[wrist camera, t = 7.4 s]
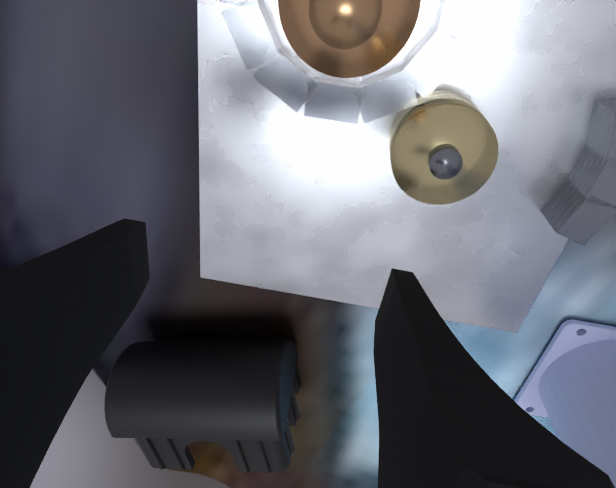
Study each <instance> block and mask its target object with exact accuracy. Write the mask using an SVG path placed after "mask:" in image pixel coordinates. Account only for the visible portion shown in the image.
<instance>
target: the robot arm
mask: <svg viewBox="0 0 616 488" xmlns="http://www.w3.org/2000/svg"><path fill="white" fill-rule="evenodd" d="M149 278H150V277H149V264H148V251H147V237H146V224H145V222H140V221H135V220H130V219H123V220H120V221H117V222H115V223H113V224H110V225H108V226H106V227H104V228H102V229H100V230H97V231H95V232H93V233H91V234H89V235H87V236H85V237H82V238H80V239H78V240H76V241H74V242H72V243H69V244H67V245H65V246H63V247H61V248H58V249H56V250H54V251H51V252H49V253H46V254H44V255H42V256H39V257H37V258H34V259H32V260H30V261H27V262H25V263H22V264H20V265H17V266H14V267H11V268H9V269H6V270H3V271H0V488H30V485H31V483H32V481H33V479H34V477H35V475H36V473H37V471H38V469H39V467H40V465H41V462H42V461H43V458H44V456H45V454H46V452H47V450H48V448H49V446H50V444H51V442H52V440H53V438H54V436H55V434H56V432H57V431H58V429H59V427H60V425H61V423H62V421H63V419H64V417H65V415H66V413H67V411H68V409H69V408H70V406H71V404H72V402H73V400H74V398H75V397H76V395H77V393H78V391H79V389H80V388H81V386H82V384H83V382H84V380H85V379H86V377H87V376H88V374H89V373H90V371H91V370H92V368H93V367H94V365H95V364H96V362H97V361H98V359H99V358H100V357H101V355H102V354H103V352H104V351H105V349H106V348H107V347H108V345H109V344H110V342H111V341H112V340H113V338H114V337H115V335H116V334H117V332H118V331H119V330H120V328H121V327H122V325H123V324H124V322H125V321H126V320H127V318H128V317H129V315H130V314H131V312H132V311H133V309H134V308H135V306H136V304H137V302H138V301H139V299H140V297H141V295H142V293H143V291H144V289H145V287H146V285H147V282H148V280H149ZM579 329H582V330H579ZM578 330H579V331H578ZM374 364H375V378H376V391H377V404H378V417H379V470H378V488H616V327H613V326H607V325H601V324H596V323H590V322H584V321H578V320H567V321H565V322H563V323H562V324H561V326H560V327H559V329H558V330H557V332H556V334H555V335H554V337H553V339H552V340H551V342H550V343H549V345H548V347H547V348H546V350H545V351H544V353H543V355H542V356H541V358H540V359H539V361H538V363H537V364H536V366H535V367H534V369H533V371H532V372H531V374H530V376H529V377H528V379H527V380H526V382H525V384H524V385H523V387H522V388H521V390H520V392H519V393H518V395H517V396H516V398H515V400H513V399H511V398H510V397H509V396H508V395H507V394H506V393H505V392H504V391H503V390H502V389H501V388H500V387H499V386H498V385H497V384H496V383H495V382H494V381H493V380H492V379H491V378H490V377H489V376H488V375H487V374H486V373H485V371H484V370H483V369H482V368H481V367H480V366H479V365H478V364H477V363H476V362H475V360H474V359H473V358H472V357H471V356H470V355H469V353H468V352H467V351H466V350H465V349H464V347H463V346H462V345H461V343H460V342H459V341H458V340H457V338H456V337H455V336H454V334H453V333H452V332H451V330H450V329H449V328H448V326H447V325H446V323H445V322H444V320H443V319H442V317H441V316H440V314H439V313H438V311H437V310H436V308H435V307H434V305H433V304H432V302H431V301H430V299H429V297H428V296H427V294H426V292H425V291H424V289H423V288H422V286H421V284H420V283H419V281H418V279H417V278H416V276H415V275H414V273H413V272H409V271H404V270H398V269H393V268H392V269H391V272H390V276H389V279H388V282H387V285H386V288H385V292H384V295H383V298H382V301H381V304H380V308H379V311H378V314H377V317H376V320H375V335H374ZM529 414H530V415H536V416H541V417H547V418H549V419H550V422H551V424H552V426H553V429H554V431H555V434H556V436H557V437H556V436H554V435H553V434H552V433H551V432H550V431H548V430H547V429H546V428H545V427H543V426H542V425H541V424H540V423H538V422H537V421H536V420H535V419H534V418H533V417H531V416H530V415H529Z"/></svg>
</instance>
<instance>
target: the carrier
mask: <svg viewBox="0 0 616 488" xmlns="http://www.w3.org/2000/svg"><path fill="white" fill-rule="evenodd" d="M197 6H198V95H199V184H200V273H201V277H202V278H207V279H213V280H219V281H224V282H230V283H236V284H242V285H247V286H253V287H259V288H264V289H270V290H276V291H282V292H287V293H293V294H299V295H304V296H310V297H316V298H322V299H327V300H333V301H339V302H344V303H350V304H356V305H362V306H367V307H373V308H380V304H381V301H382V298H383V295H384V292H385V288H386V285H387V282H388V279H389V276H390V272H391V269H392V268H393V269H398V270H404V271H409V272H413V273H414V275H415V276H416V278H417V279H418V281H419V283H420V284H421V286H422V288H423V289H424V291H425V292H426V294H427V296H428V297H429V299H430V301H431V302H432V304H433V305H434V307H435V308H436V310H437V311H438V313H439V314H440V316H441V317H442V319H443V320H447V321H453V322H459V323H464V324H470V325H476V326H482V327H487V328H493V329H499V330H504V331H510V332H516V333H517V332H518V330H519V329H520V327H521V325H522V323H523V321H524V319H525V318H526V316H527V314H528V312H529V310H530V309H531V307H532V305H533V303H534V301H535V300H536V298H537V296H538V294H539V292H540V290H541V289H542V287H543V285H544V283H545V281H546V280H547V278H548V276H549V274H550V272H551V271H552V269H553V267H554V265H555V263H556V261H557V260H558V258H559V256H560V254H561V252H562V251H563V249H564V247H565V245H566V243H567V242H568V240H569V239H570V240H573V241H575V242H577V243H579V244H582V245H585V244H586V243H587V242H588V241H589V240H590V239H591V238H592V237H593V236H594V235H595V234H596V233H597V231H598V230H599V229H600V228H601V227H602V226H603V225H604V224H605V223H606V222H607V221H608V220H609V219H610V218H611V217H612V216H613V215H614V214H615V213H616V0H421V5H420V11H419V16H418V19H417V22H416V25H415V28H414V30H413V32H412V34H411V37H410V38H409V40H408V42H407V43H406V45H405V46H404V48H403V49H402V50H401V51H400V53H399V54H398V55H397V56H396V57H395V58H394V59H393V60H392V61H390V62H389V63H388V64H386V65H385V66H384V67H382V68H380V69H379V70H377V71H375V72H373V73H370V74H368V75H364V76H361V77H355V78H338V77H332V76H329V75H325V74H323V73H321V72H318V71H317V70H315V69H313V68H312V67H310V66H309V65H308V64H306V63H305V62H304V61H303V60H302V59H301V58H300V57H299V56H298V55H297V54H296V52H295V51H294V50H293V48H292V47H291V45H290V44H289V42H288V40H287V38H286V36H285V33H284V31H283V28H282V25H281V21H280V16H279V10H278V0H197Z"/></svg>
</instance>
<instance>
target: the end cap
mask: <svg viewBox="0 0 616 488" xmlns="http://www.w3.org/2000/svg"><path fill="white" fill-rule="evenodd" d="M297 359H298V354H297V351H296V348H295V345H294V344H293V342H292V341H291V340H289V339H239V340H191V341H142V342H136V343H134V344H132V345H130V346H128V347H127V348H126V349H125V350H124V351H123V352H122V353H121V355H120V356H119V357H118V359H117V360H116V362H115V364H114V366H113V368H112V370H111V373H110V376H109V379H108V383H107V387H106V393H105V418H106V423H107V426H108V429H109V431H110V434H111V436H112V437H114V438H115V437H116V438H135V439H136V441H137V442H138V444H139V446H140V448H141V449H142V451H143V453H144V455H145V456H146V458H147V460H148V461H149V463H150V465H151V466H152V467H154V468H160V469H165V468H171V469H180V470H184V469H193V466H194V464H195V461H194V459H193V457H192V455H191V453H190V451H189V449H188V446H187V445H188V444H190V443H192V442H195V441H208V442H213V443H216V444H219V445H221V446H223V447H224V448H226V449H227V450H228V451H229V452H230V453H231V455H232V456H233V459H234V461H235V464H236V466H237V469H238V471H245V472H249V471H260V472H266V473H270V472H282V471H284V470H285V469H286V468H287V467H288V466H289V464H290V459H291V454H292V453H293V452H294V450H295V448H294V445H293V441H292V437H291V433H290V429H289V426H288V422H289V425H290V426H296V421H297V420H298V419H299V417H300V415H299V411H298V406H297V402H296V398H295V394H297V393H298V392H299V387H300V379H299V375H298V370H297V366H296V364H297ZM287 418H288V422H287Z"/></svg>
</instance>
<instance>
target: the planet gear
mask: <svg viewBox="0 0 616 488" xmlns="http://www.w3.org/2000/svg"><path fill="white" fill-rule="evenodd" d="M420 5H421V0H278V10H279V16H280V21H281V25H282V28H283V31H284V33H285V36H286V38H287V40H288V42H289V44H290V45H291V47H292V48H293V50H294V51H295V52H296V54H297V55H298V56H299V57H300V58H301V59H302V60H303V61H304V62H305V63H306V64H308V65H309V66H310V67H312V68H313V69H315V70H317V71H318V72H321V73H323V74H325V75H329V76H332V77H338V78H355V77H361V76H364V75H368V74H370V73H373V72H375V71H377V70H379V69H380V68H382V67H384V66H385V65H386V64H388V63H389V62H390V61H392V60H393V59H394V58H395V57H396V56H397V55H398V54H399V53H400V51H401V50H402V49H403V48H404V46H405V45H406V43H407V42H408V40H409V38H410V37H411V34H412V32H413V30H414V28H415V25H416V22H417V19H418V16H419V11H420Z"/></svg>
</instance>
